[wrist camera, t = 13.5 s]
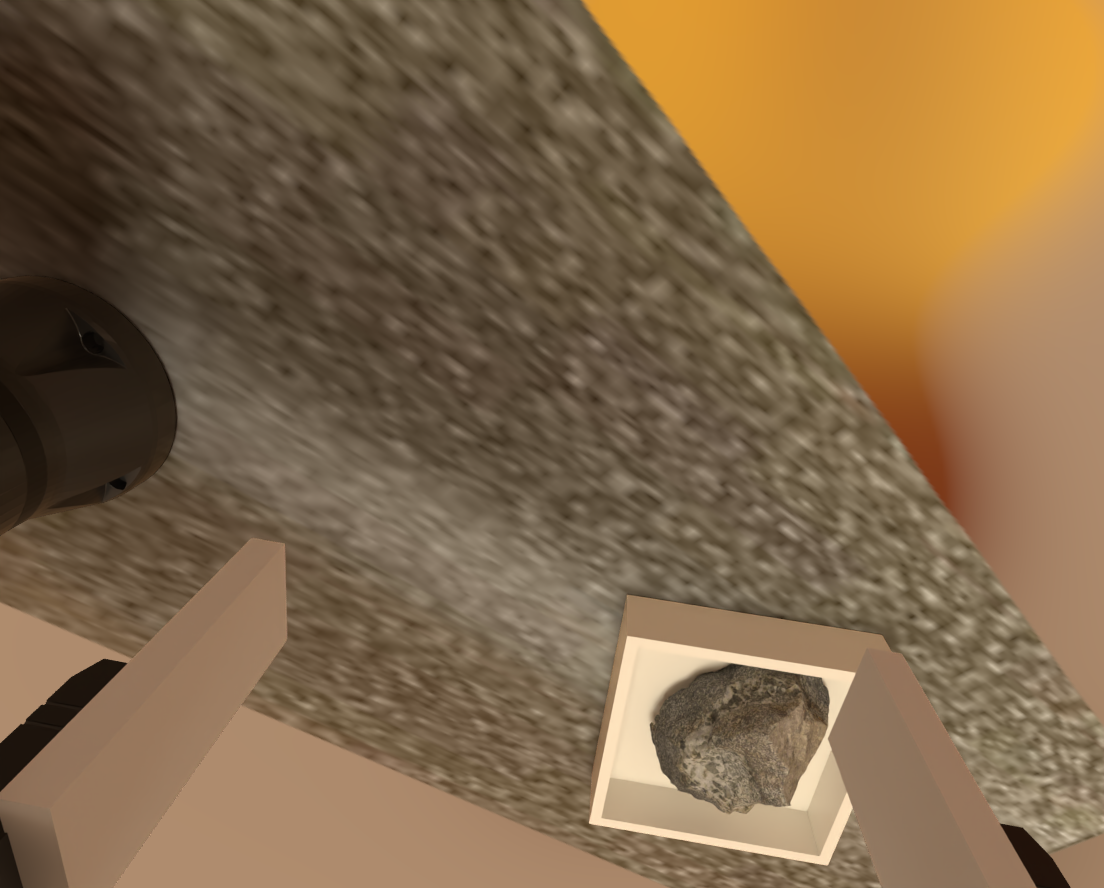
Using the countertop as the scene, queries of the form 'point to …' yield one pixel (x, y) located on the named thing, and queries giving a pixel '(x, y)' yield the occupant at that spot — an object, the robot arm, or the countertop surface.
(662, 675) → the dish
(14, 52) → the countertop surface
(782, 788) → the rock
